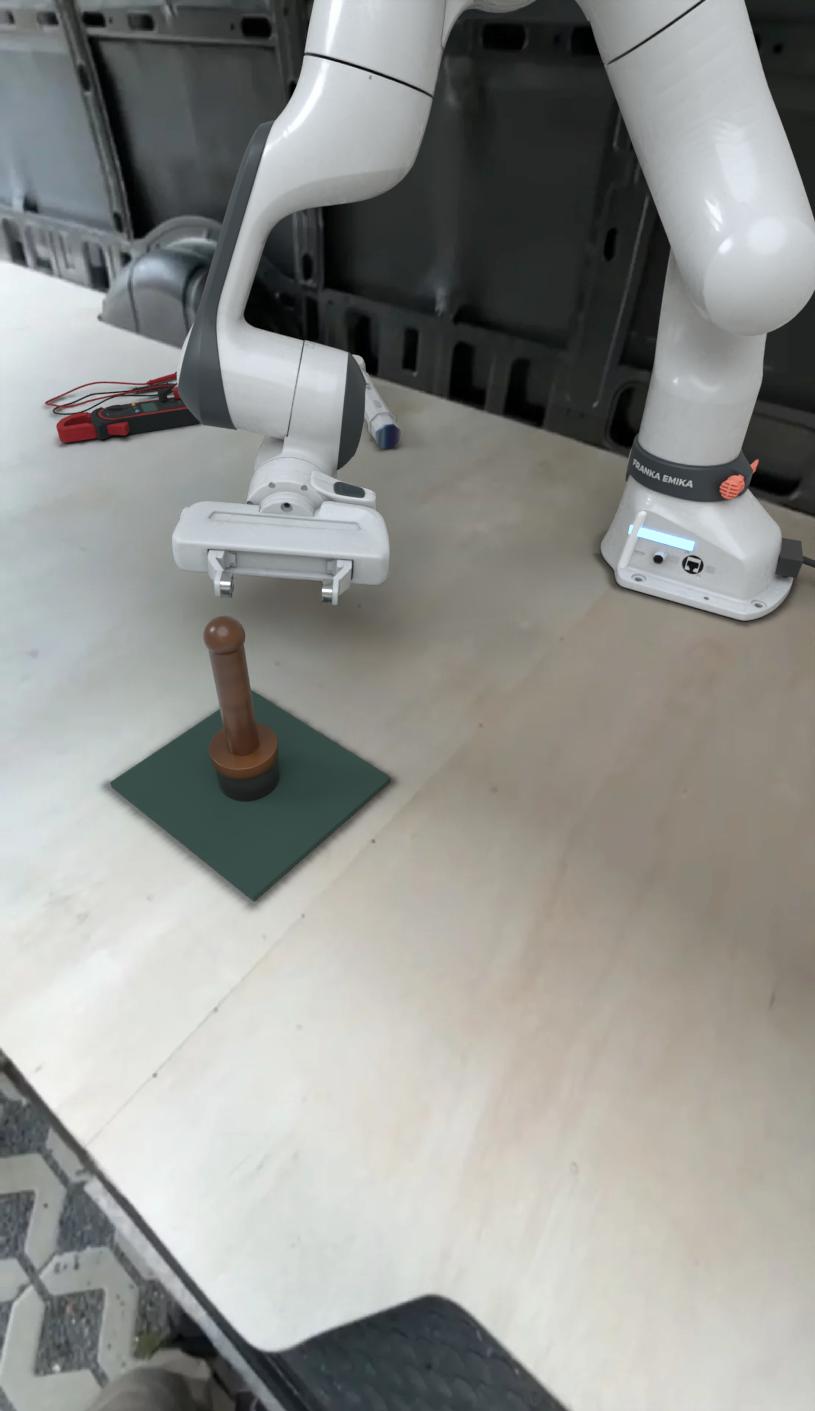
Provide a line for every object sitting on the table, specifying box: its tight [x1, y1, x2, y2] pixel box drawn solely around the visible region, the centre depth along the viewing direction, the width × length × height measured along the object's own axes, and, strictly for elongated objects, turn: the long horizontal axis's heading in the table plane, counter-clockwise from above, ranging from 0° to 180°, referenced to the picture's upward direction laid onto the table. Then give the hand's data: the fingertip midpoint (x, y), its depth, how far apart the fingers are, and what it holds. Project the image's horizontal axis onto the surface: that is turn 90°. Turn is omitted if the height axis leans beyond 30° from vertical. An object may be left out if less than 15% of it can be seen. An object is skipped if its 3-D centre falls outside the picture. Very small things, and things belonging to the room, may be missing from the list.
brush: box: [202, 615, 280, 801], centre depth 63 cm, size 6×6×17 cm
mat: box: [109, 689, 392, 902], centre depth 68 cm, size 18×16×1 cm
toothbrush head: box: [352, 354, 402, 450], centre depth 126 cm, size 5×7×25 cm
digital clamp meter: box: [44, 371, 200, 444], centre depth 127 cm, size 23×4×25 cm
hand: (276, 595), depth 70 cm, fingers open, 8 cm apart
